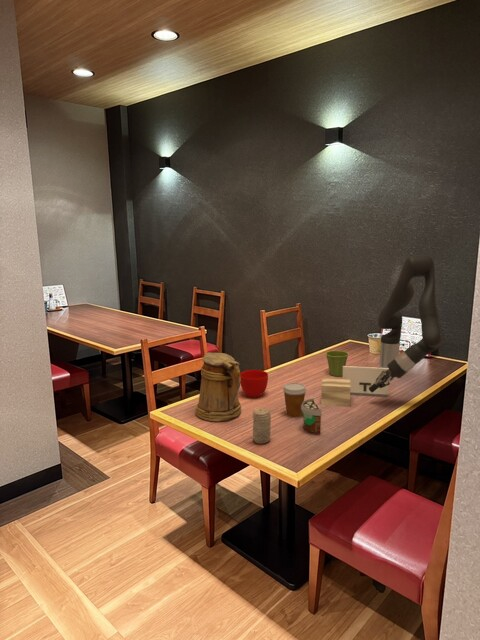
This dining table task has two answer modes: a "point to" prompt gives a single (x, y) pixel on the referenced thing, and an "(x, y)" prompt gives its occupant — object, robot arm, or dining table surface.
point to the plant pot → (336, 362)
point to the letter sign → (364, 380)
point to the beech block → (335, 392)
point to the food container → (311, 416)
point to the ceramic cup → (254, 382)
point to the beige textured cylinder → (261, 425)
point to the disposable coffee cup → (294, 398)
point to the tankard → (219, 388)
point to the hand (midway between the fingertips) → (370, 390)
